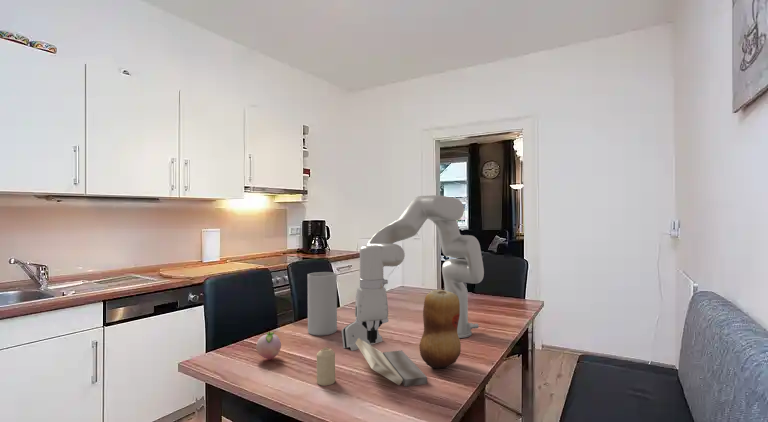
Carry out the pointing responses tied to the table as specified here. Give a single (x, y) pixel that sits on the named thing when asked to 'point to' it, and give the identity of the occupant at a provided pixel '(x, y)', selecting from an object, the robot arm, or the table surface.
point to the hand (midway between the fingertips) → (372, 341)
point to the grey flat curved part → (356, 335)
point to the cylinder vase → (322, 303)
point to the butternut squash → (440, 329)
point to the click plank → (378, 361)
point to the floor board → (406, 368)
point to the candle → (325, 367)
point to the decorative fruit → (268, 345)
